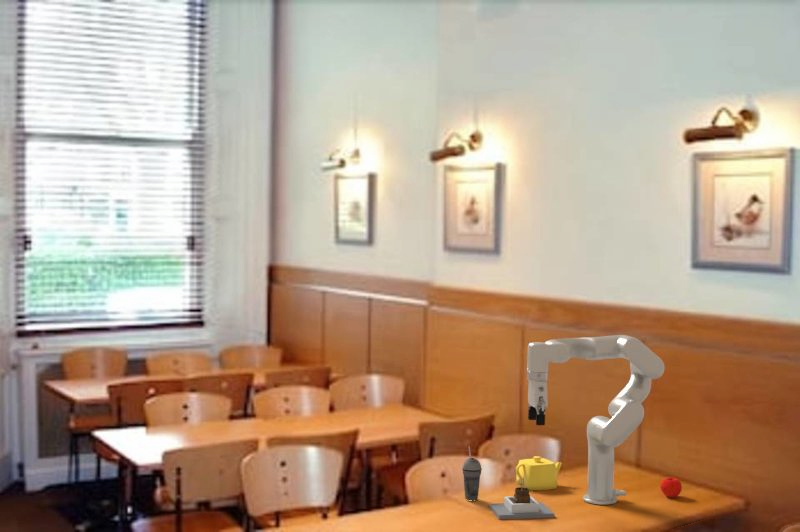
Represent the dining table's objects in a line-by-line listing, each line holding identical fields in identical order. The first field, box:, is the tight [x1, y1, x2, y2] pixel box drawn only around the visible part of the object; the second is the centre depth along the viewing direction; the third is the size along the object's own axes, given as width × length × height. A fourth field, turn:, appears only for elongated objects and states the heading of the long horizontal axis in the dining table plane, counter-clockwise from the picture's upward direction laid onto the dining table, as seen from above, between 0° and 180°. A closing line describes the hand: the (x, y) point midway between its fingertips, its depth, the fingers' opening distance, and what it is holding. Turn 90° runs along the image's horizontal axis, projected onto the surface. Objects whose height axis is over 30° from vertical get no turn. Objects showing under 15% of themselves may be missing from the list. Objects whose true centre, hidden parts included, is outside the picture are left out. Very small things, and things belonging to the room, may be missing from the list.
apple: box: [659, 477, 683, 499], centre depth 370 cm, size 8×8×7 cm
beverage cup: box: [461, 445, 483, 502], centre depth 361 cm, size 7×7×20 cm
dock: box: [488, 495, 555, 520], centre depth 346 cm, size 20×14×4 cm
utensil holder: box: [513, 477, 531, 504], centre depth 346 cm, size 6×6×12 cm
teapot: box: [515, 455, 563, 491], centre depth 382 cm, size 20×12×12 cm, turn 109°
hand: (536, 422), depth 356 cm, fingers open, 9 cm apart
